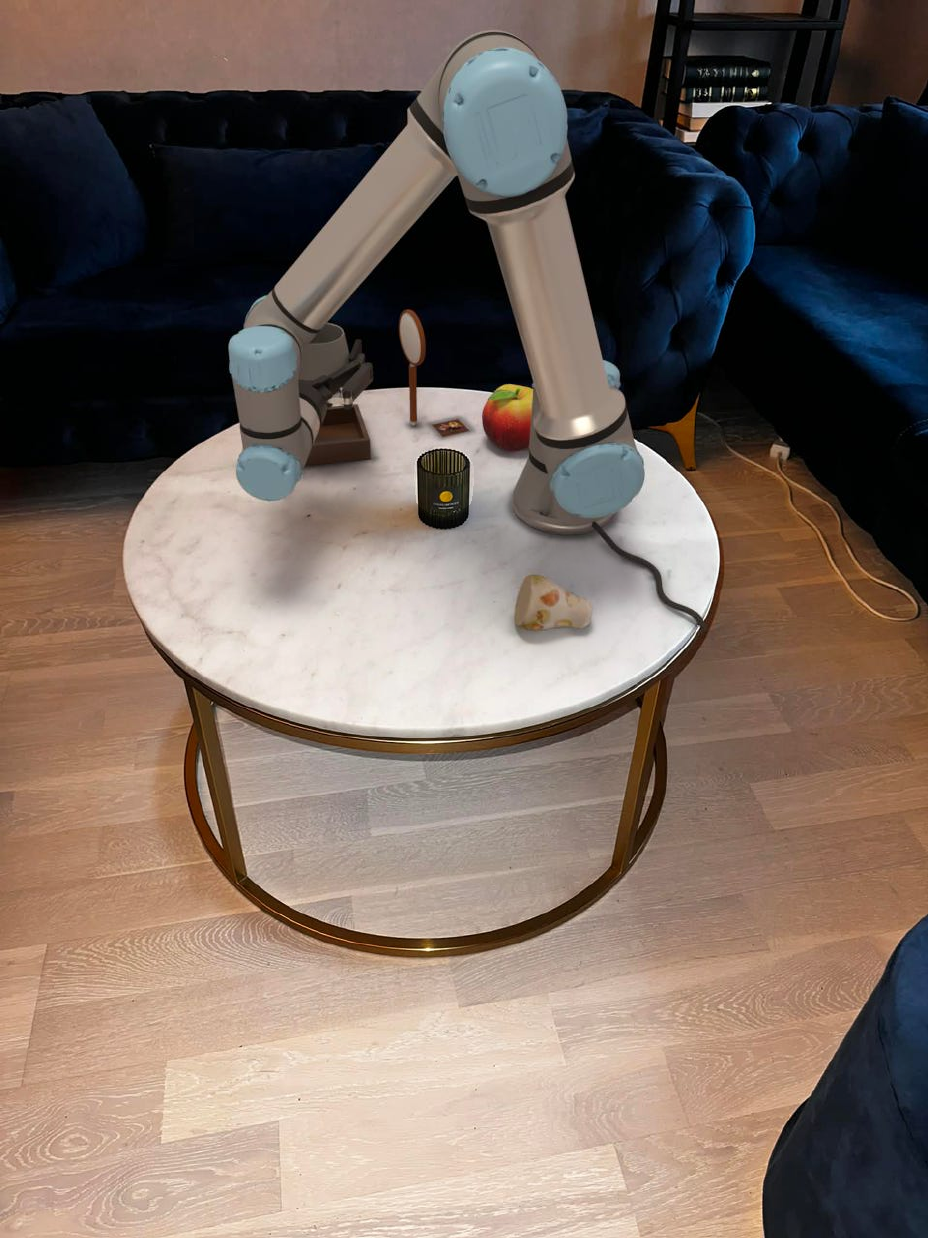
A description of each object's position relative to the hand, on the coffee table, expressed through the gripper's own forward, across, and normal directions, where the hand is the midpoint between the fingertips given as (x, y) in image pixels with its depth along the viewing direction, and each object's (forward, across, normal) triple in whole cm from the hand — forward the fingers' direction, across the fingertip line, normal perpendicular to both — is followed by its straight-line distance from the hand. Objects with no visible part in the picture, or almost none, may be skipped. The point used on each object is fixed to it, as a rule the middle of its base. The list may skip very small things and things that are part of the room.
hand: (326, 346), depth 142 cm
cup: (-4, 0, -6) cm, 8 cm away
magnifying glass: (+10, +12, -18) cm, 24 cm away
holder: (+2, -1, -18) cm, 18 cm away
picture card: (+10, +18, -18) cm, 27 cm away
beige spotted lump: (-39, +36, -18) cm, 56 cm away
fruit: (+6, +29, -18) cm, 35 cm away
